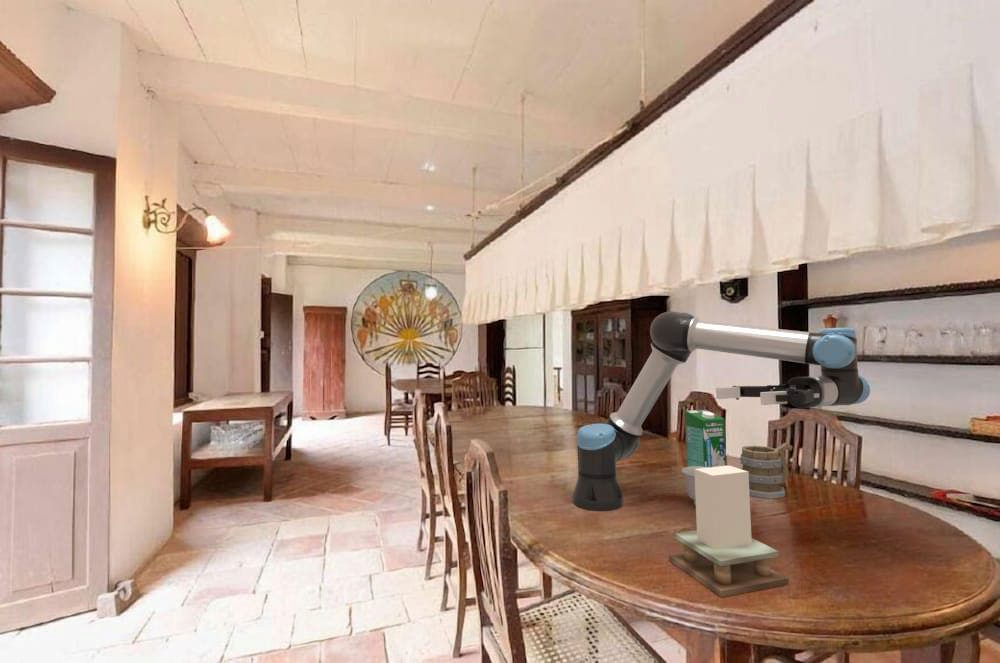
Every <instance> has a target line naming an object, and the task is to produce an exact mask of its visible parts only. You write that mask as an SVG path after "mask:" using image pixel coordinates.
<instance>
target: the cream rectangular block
mask: <svg viewBox="0 0 1000 663" xmlns="http://www.w3.org/2000/svg"><path fill="white" fill-rule="evenodd" d="M694 472H695V497H696V505H695V516H696V517H695V518H696V519H695V520H696V521H695V522H696V530H697V540H699V541H701V542H703V543H704V544H706V545H708V546H709V547H711V548H713V549H715V550H719V549H725V548H731V547H737V546H743V545H750V544H752V539H751V538H752V524H751V523H752V522H751V521H752V519H751V517H752V516H751V500H750V499H751V496H750V495H749V473H748V471H745V470H742V468H738V467H735V466H732V465H728V464H727V466H718V467H709V468H699V469H694Z"/></svg>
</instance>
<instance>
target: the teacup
mask: <svg viewBox="0 0 1000 663" xmlns="http://www.w3.org/2000/svg"><path fill="white" fill-rule="evenodd" d="M699 468H709V467H702V466H691V467H687V466H686V467H683V468H682V469H681V470H680V471H681V473H682V474H683V476H684V477H683V478H684V482H685V488H686V492H687V495H688V496H689V498H690V499H691V500H693V505H695V506H696V497H695V472H694V469H699Z"/></svg>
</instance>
